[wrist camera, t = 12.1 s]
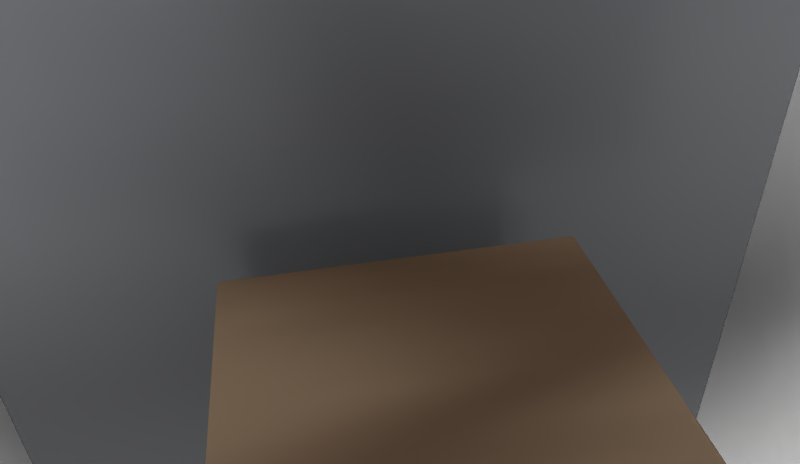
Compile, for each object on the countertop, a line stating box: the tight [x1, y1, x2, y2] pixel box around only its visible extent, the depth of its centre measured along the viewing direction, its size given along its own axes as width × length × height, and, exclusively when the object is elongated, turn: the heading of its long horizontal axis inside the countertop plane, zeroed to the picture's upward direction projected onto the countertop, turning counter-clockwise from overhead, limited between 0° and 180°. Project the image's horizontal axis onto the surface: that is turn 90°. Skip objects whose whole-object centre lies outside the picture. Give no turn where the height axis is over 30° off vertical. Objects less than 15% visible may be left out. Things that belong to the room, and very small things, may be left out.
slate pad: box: [0, 0, 800, 464], centre depth 12 cm, size 12×12×1 cm
